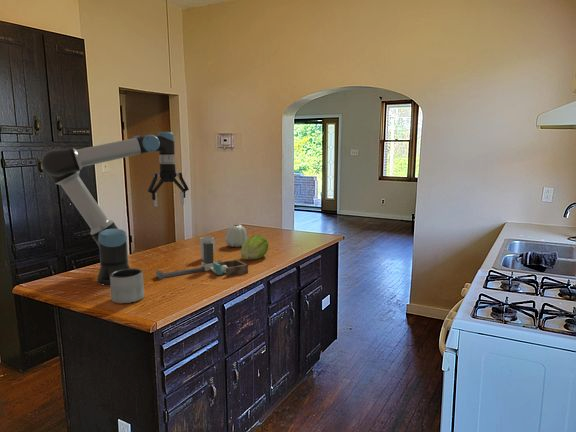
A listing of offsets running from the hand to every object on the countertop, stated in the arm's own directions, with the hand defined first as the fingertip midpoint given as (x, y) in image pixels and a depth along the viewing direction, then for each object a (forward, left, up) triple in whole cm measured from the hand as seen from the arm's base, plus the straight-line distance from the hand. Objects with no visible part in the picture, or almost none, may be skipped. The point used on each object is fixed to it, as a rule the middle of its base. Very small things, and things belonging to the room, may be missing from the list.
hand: (169, 205), depth 212 cm
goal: (+20, -27, -32) cm, 46 cm away
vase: (+48, +21, -32) cm, 61 cm away
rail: (+4, -17, -32) cm, 36 cm away
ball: (+17, -27, -30) cm, 44 cm away
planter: (-31, -38, -32) cm, 59 cm away
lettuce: (+42, -11, -32) cm, 54 cm away
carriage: (+13, -22, -31) cm, 41 cm away
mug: (+22, +3, -32) cm, 39 cm away
